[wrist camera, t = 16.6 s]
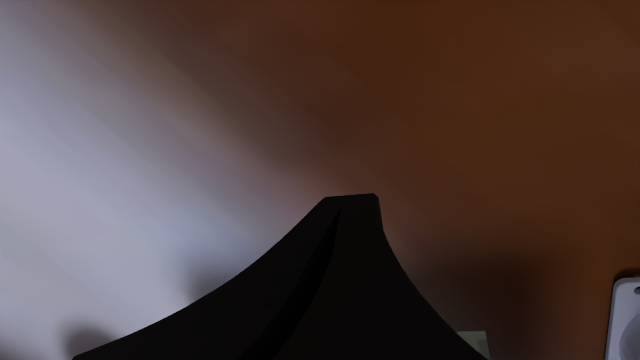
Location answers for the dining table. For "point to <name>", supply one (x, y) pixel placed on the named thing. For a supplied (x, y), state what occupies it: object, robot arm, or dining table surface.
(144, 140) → the dining table surface
